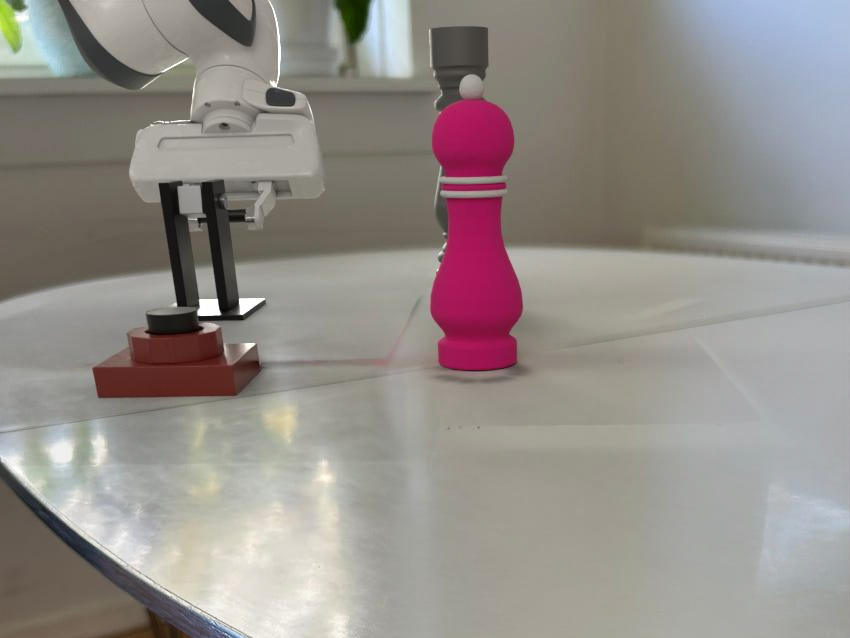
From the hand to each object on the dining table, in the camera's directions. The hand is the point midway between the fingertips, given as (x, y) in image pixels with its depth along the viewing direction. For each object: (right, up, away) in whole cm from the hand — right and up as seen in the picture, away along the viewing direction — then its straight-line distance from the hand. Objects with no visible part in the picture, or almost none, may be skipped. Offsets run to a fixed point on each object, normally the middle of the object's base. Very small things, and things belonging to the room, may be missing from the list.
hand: (223, 226), depth 103 cm
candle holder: (+25, -7, +3) cm, 26 cm away
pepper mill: (+26, -21, -24) cm, 41 cm away
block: (+4, -24, -29) cm, 37 cm away
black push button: (+4, -21, -30) cm, 37 cm away
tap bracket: (0, -11, -4) cm, 12 cm away
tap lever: (0, -1, -5) cm, 5 cm away
